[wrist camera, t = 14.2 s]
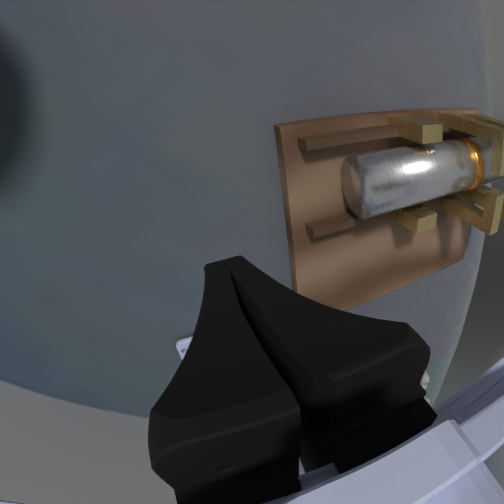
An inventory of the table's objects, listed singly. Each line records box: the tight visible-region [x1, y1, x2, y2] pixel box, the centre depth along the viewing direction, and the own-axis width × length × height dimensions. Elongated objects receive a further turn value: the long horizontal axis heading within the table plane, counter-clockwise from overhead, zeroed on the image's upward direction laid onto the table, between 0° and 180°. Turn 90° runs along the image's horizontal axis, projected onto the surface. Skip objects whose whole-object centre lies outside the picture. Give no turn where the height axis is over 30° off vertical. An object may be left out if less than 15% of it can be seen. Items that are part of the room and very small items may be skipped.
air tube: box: [341, 137, 504, 219], centre depth 20 cm, size 16×4×4 cm, turn 100°
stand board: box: [274, 109, 481, 311], centre depth 23 cm, size 16×20×2 cm
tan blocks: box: [387, 112, 504, 235], centre depth 19 cm, size 8×11×6 cm
